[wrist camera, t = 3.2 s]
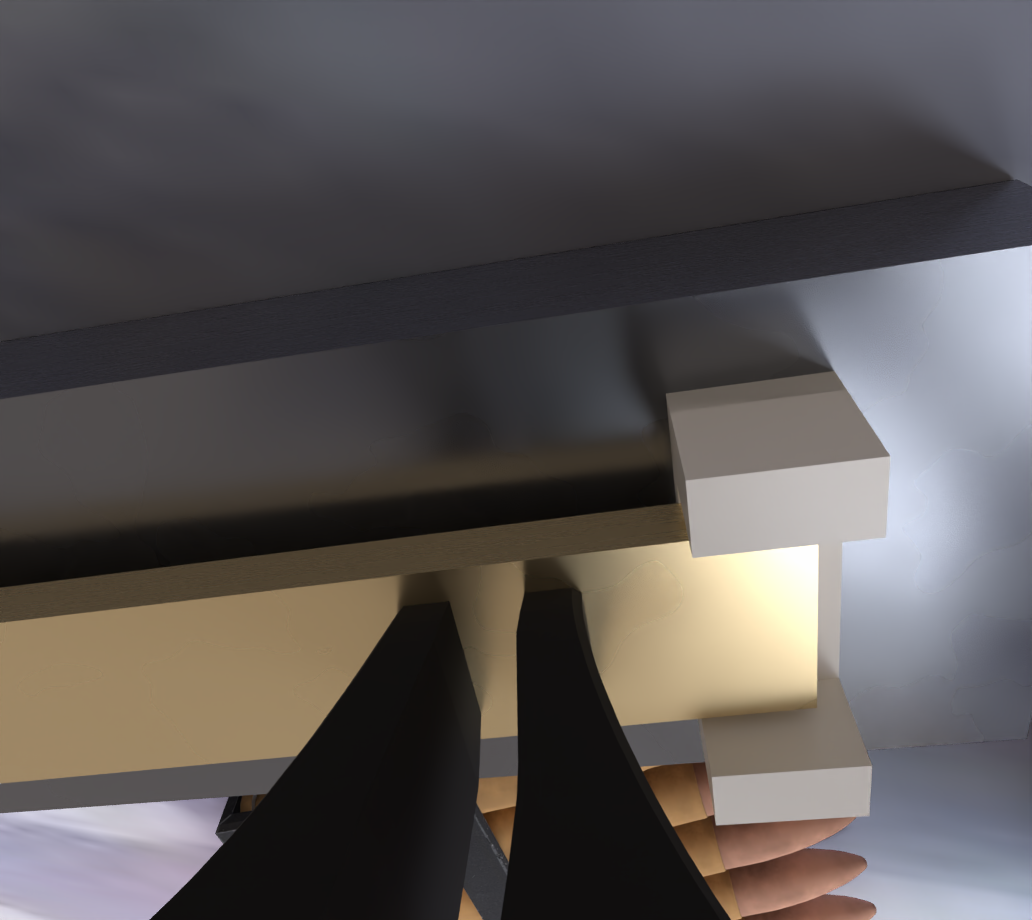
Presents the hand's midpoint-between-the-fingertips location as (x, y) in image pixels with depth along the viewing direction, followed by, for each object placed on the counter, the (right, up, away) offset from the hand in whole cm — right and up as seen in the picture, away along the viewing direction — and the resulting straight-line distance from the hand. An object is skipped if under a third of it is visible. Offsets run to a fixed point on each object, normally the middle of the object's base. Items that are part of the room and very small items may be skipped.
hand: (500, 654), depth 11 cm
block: (-2, +2, +4) cm, 4 cm away
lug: (+3, +1, +1) cm, 4 cm away
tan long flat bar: (-3, 0, +1) cm, 3 cm away
